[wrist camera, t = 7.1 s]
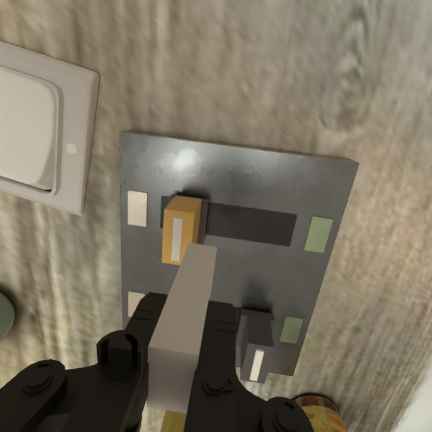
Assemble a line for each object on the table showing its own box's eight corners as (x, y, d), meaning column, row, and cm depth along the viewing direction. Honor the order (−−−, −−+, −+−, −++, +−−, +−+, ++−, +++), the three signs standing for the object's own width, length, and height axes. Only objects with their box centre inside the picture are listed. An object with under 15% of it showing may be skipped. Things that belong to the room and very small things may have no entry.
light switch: (-59, 192, 23) (-88, 15, 17) (-15, 179, 26) (-28, 30, 21) (64, 230, 23) (73, 68, 17) (90, 212, 27) (104, 73, 21)
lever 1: (172, 191, 21) (155, 209, 17) (209, 197, 21) (201, 215, 17) (169, 237, 22) (153, 262, 18) (204, 242, 22) (196, 269, 18)
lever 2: (241, 307, 24) (241, 344, 20) (274, 312, 24) (280, 350, 20) (235, 340, 26) (234, 380, 22) (266, 345, 25) (270, 387, 22)
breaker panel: (130, 130, 22) (118, 131, 20) (348, 158, 21) (360, 163, 19) (130, 333, 30) (121, 348, 28) (289, 359, 29) (293, 378, 27)
